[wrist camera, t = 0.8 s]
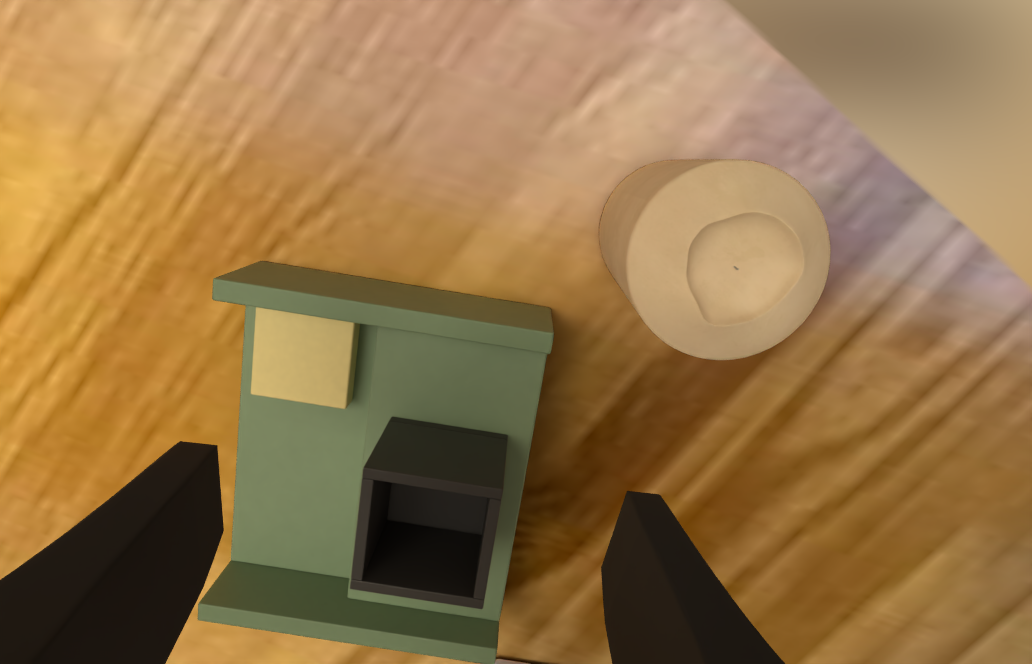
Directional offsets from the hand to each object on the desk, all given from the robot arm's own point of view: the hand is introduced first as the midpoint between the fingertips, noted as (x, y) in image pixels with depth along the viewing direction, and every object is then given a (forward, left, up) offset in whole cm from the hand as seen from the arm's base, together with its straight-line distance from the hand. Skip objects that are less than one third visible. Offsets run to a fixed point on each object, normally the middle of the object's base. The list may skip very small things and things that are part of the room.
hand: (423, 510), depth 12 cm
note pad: (-2, +7, -15) cm, 16 cm away
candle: (+4, -7, -16) cm, 18 cm away
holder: (-6, +1, -13) cm, 15 cm away
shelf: (-6, +3, -16) cm, 18 cm away
